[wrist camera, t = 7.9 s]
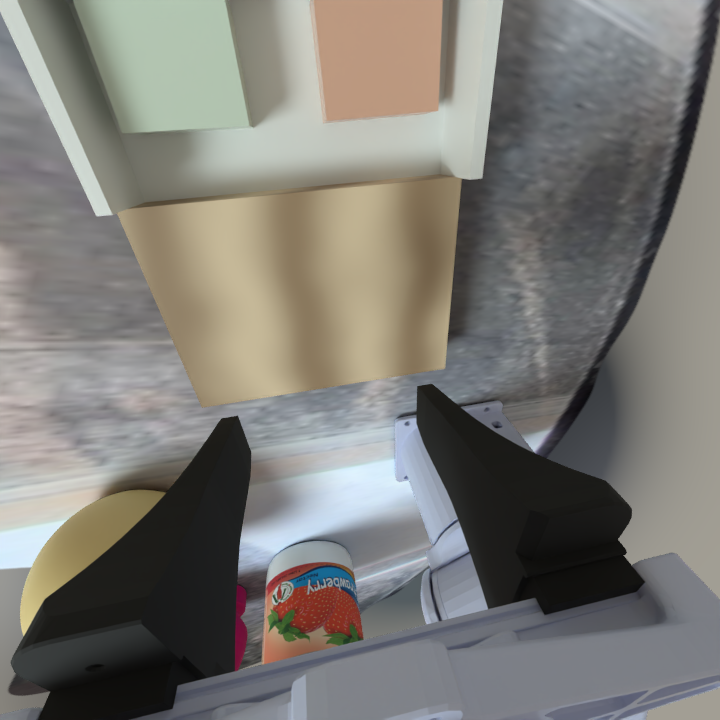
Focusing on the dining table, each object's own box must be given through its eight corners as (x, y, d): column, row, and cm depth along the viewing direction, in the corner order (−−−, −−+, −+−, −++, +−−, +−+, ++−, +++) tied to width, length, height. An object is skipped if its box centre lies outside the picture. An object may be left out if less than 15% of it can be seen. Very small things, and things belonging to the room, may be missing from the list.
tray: (461, -27, 14) (512, -80, 11) (447, 172, 18) (482, 178, 15) (47, -15, 13) (-40, -74, 9) (135, 202, 17) (96, 216, 13)
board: (442, 173, 18) (461, 176, 16) (431, 349, 25) (444, 368, 23) (137, 202, 17) (115, 209, 15) (210, 383, 23) (201, 407, 21)
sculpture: (96, 560, 31) (17, 727, 22) (50, 475, 25) (-84, 659, 16) (226, 547, 34) (202, 693, 25) (214, 467, 27) (177, 623, 18)
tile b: (249, 125, 14) (254, 127, 16) (222, -14, 12) (231, 7, 13) (122, 133, 13) (140, 134, 15) (68, -11, 11) (97, 9, 13)
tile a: (438, 110, 15) (423, 114, 16) (443, -21, 13) (425, -2, 14) (326, 121, 14) (323, 123, 16) (311, -15, 12) (309, 5, 14)
